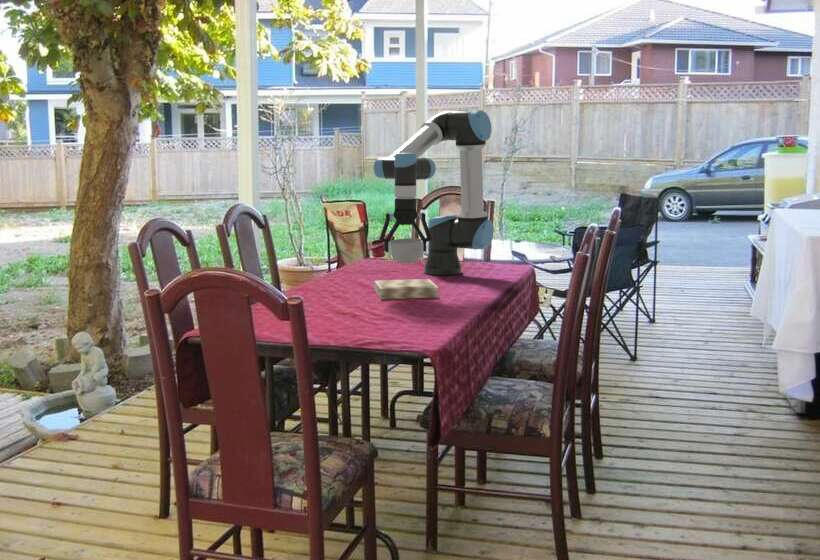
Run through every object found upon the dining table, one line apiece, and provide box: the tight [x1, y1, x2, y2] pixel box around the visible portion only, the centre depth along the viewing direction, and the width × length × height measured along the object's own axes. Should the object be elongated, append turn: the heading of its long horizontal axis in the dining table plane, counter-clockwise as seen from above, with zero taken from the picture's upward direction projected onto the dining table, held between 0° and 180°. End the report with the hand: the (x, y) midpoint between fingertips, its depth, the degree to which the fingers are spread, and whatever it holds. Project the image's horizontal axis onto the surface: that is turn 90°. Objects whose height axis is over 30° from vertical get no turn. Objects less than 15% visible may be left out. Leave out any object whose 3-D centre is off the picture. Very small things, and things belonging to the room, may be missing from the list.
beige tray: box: [374, 278, 439, 300], centre depth 309 cm, size 20×18×4 cm
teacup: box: [389, 237, 422, 264], centre depth 307 cm, size 14×11×8 cm
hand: (405, 261), depth 308 cm, fingers closed on teacup, 11 cm apart
